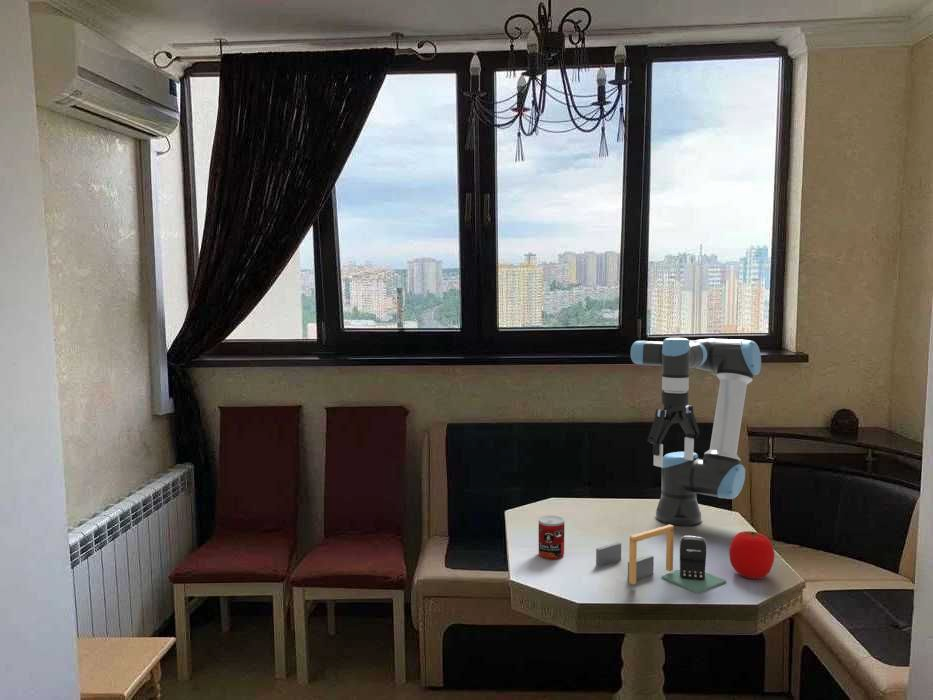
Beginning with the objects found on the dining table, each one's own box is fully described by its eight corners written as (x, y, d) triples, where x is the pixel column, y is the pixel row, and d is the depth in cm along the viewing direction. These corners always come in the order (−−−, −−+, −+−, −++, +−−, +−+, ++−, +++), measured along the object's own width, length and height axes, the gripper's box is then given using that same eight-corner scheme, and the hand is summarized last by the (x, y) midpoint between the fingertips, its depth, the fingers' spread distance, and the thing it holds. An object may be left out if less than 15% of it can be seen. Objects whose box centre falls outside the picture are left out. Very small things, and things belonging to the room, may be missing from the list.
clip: (618, 558, 205) (618, 542, 204) (653, 573, 193) (653, 556, 193) (596, 565, 200) (596, 548, 199) (631, 581, 188) (631, 563, 188)
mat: (689, 568, 197) (689, 566, 197) (726, 582, 187) (726, 580, 187) (661, 577, 190) (661, 575, 190) (697, 593, 180) (697, 591, 180)
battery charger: (679, 579, 188) (680, 539, 187) (678, 574, 191) (679, 534, 190) (706, 582, 186) (707, 541, 185) (705, 576, 190) (706, 536, 189)
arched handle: (668, 568, 193) (669, 524, 192) (672, 570, 192) (673, 525, 191) (628, 582, 184) (629, 536, 183) (632, 584, 183) (633, 537, 182)
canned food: (535, 558, 205) (535, 522, 204) (542, 548, 213) (542, 514, 212) (561, 561, 202) (561, 525, 201) (566, 552, 210) (566, 516, 209)
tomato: (751, 587, 184) (752, 541, 183) (719, 571, 195) (720, 527, 194) (785, 579, 189) (786, 534, 188) (751, 564, 200) (753, 521, 199)
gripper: (692, 386, 211) (690, 454, 212) (635, 393, 197) (634, 466, 199) (713, 389, 204) (711, 459, 206) (656, 396, 191) (654, 471, 192)
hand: (673, 462), depth 202 cm, fingers open, 13 cm apart
